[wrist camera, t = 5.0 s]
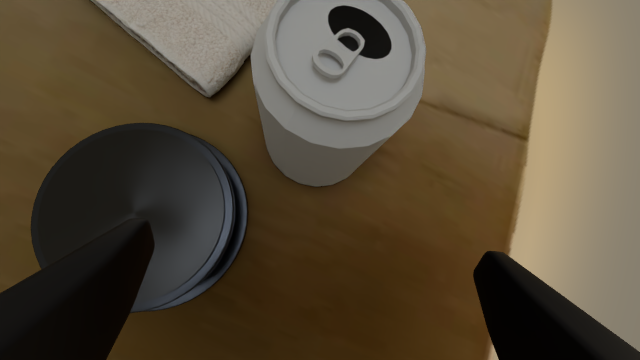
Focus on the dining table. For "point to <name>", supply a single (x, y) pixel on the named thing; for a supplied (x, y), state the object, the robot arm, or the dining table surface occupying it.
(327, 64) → the can
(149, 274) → the stand
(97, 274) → the robot arm
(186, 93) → the dining table surface
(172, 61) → the washcloth
